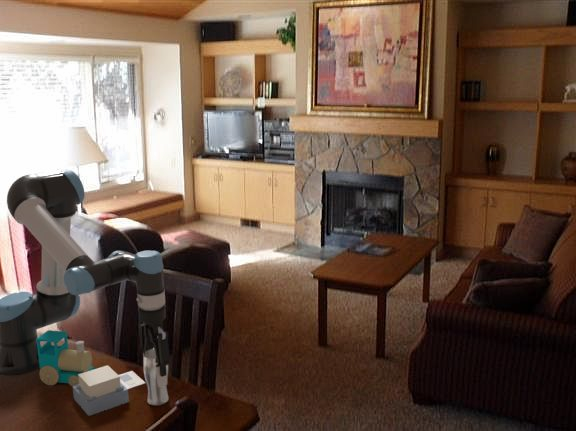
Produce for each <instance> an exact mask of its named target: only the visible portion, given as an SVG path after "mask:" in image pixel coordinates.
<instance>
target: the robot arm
mask: <svg viewBox="0 0 576 431" xmlns="http://www.w3.org/2000/svg"><path fill="white" fill-rule="evenodd" d="M85 197H86V196H85V188H84V185H83V183H82V180H81V179H80V177H79V176H78V174H77V173H76V172H75V171H73V170H71V169H56V170H52V171H46V172H45V171H44V172H39V173H34V174H25V175H23V176H20V177H18V178H17V179H16V180H15V181H14V182H12V184H11V186H10V187H9V189H8V191H7V195H6V204H7V208H8V211H9V214H10V215H11V217H12V219H14V220H15V221H16V222H17V224H20V225H24V226H25V228H27V230H28V231H29V232H30V233H31V235H32V236H34V238H35V239H36V240H37V242H39V244H40V245H41V280H40V281H38V282H37V284H36V292H34V293H31V292H29V291H18V292H16V291H15V292H13V293H10V294H7V295H5V296H3V297H1V298H0V374H3V375H8V376H9V375H10V376H12V375H13V376H14V375H15V376H16V375H21V374H26V373H30V372H33V371H35V370H37V369H40V365H39V357H38V349H37V340H36V339H37V338H38V330H39V329H42V328H44V327H48V326H51V325H53V324H56V323H57V324H58V323H60V322H64V321H66V320H68V319H70V318H72V317H74V316H76V314H77V313H78V312H79V309H80V306H81V297H80V295H85V294H89V293H92V292H95V291H97V290H100V289H103V288H106V287H109V286H112V285H116V284H119V283H121V282H125V281H129V282H131V283H135V285H136V295H137V297H136V298H135V300H136V301H137V306H138V308H137V312H138V323H139V332H140V333H139V338H140V350H141V351H142V354H143V353H144V352H145V351H147V350H149V349H153V348H154V349H155V354H156V358H157V363H158V365H155V366H156V369H157V384H158V387H161V386H163V385H166V384H167V385H168V377H167V369H166V365H168V366H169V365H171V358H170V350H169V349H170V348H169V339H168V338H169V332H168V331H164V328H163V324H162V322H163V321H164V320H165V319H166V317H167V314H166V313H167V312H166V295H165V294H166V293H165V292H166V291H165V281H164V280H165V278H164V264H163V263H164V262H163V256H162V253H161V252H159V251H158V250H143V251H139V252H137V253H131V252H129V251H125V250H115V251H113V252H111V254H109V255H108V257H106V258H103V259H100V260H96V261H94V260H93V259H92V258H91V257H90V256H89V255H88V254H87V253H86V251H84V249H83V248H82V247H81V246H80V245H79V244H78V242H76V240H75V239H74V238H73V237H72V236H71V226H72V225H71V222H72V221H71V220H72V217H74V216H75V215H76V214H77V213H76V212H77V206H78V205H80V204H82V203H83V202H84V200H85ZM42 346H43V345H41V343H40V347H42ZM150 358H151V357H150ZM167 385H166V386H167Z"/></svg>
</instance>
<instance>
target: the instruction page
mask: <svg viewBox="0 0 576 431" xmlns="http://www.w3.org/2000/svg"><path fill="white" fill-rule="evenodd" d="M118 375H119V376H120V382H121V383H122V384H123V385H124V386H125V387H126V388H127V389H128V390H130V389H134V388H137V387H139V386H142V385H145V384H146V381H144V380H143V379H142V378H141V377H140V376H138V374H136V372H134V371H133V370H130V371H127V372H124V373H121V374H118Z"/></svg>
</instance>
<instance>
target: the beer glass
mask: <svg viewBox="0 0 576 431" xmlns="http://www.w3.org/2000/svg"><path fill="white" fill-rule="evenodd" d="M142 355H143V356H142V357H143V358H142V359H143V360H142V364H143V365H142V367H143V374H144V379H145V384H146V387H147V403H148V404H149V405H151V406H155V407H156V406H162V405H164V404H166V403H167V402H168V401H169V400H170V399H169V394H168V389H167V385H168V383H167V384H166V385H163V386H161V387H158V384H157V369H156V366H155V365H158V363H157V358H156V354H155V349H154V347H153V349H149V350H147V351H145V352H144V353H143V352H142ZM150 357H151V358H150ZM166 369H167V378H168V374H169V365H166Z"/></svg>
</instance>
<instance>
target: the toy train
mask: <svg viewBox="0 0 576 431" xmlns="http://www.w3.org/2000/svg"><path fill="white" fill-rule="evenodd" d="M36 340H37V349H38V357H39V365H40V367H39V378H40V380H41V382H42V383H44V384H46V385H47V386H54V385H56V384H57V383H61V384H63V383H64V384H68V385H69V386H70V387H72V388H73V386H76V385H77V384H79V378H78V374H81V373H84V372H88V371H91V370H94V369H96V368H95V367H94V366H93V365H92V363H93V356H92V353H91V352H90V350H85V341H84V340H78V341H76V342H75V343H74V344H75V346H76V347H75V348H76V349H69V342H68V340H69V339H68V332H67V331H62V330H46V331H44V333H42V334H41V335H40V336H39V337H38V336H37V339H36ZM62 340H64V343H63V344H61V345H58V343H60V342H61V341H62ZM41 342H46V343H44V344H43V345H41V346H42V347H40V344H41ZM52 343H53V345H52Z"/></svg>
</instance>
